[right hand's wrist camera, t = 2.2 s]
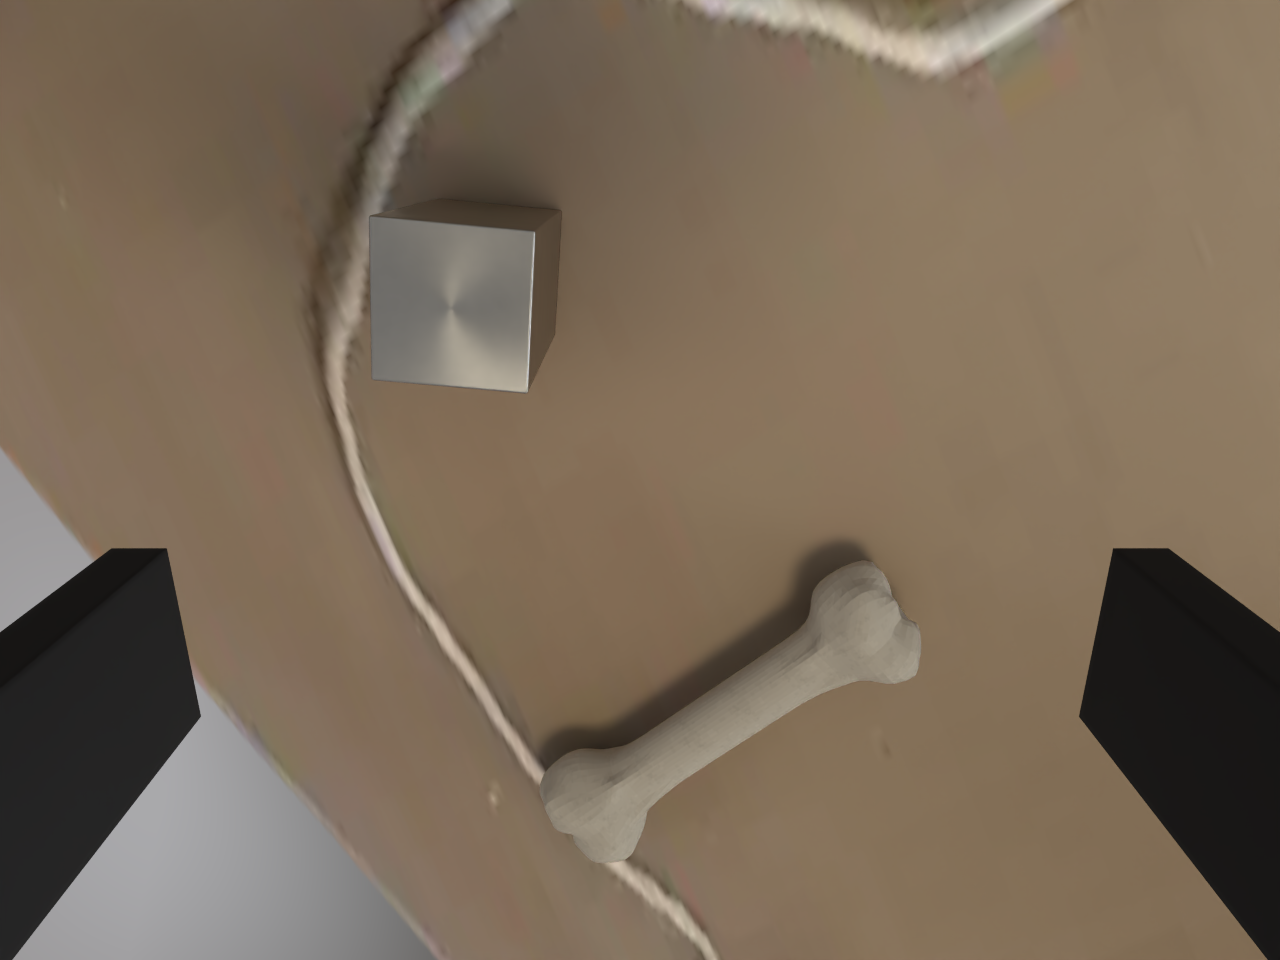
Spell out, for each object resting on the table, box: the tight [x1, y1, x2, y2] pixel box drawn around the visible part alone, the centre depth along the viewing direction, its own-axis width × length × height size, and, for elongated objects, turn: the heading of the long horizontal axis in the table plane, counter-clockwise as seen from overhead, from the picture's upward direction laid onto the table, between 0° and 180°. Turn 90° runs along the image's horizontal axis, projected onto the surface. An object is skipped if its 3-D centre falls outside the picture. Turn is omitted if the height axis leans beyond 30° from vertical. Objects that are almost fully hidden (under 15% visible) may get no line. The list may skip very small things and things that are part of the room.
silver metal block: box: [369, 199, 562, 393], centre depth 33 cm, size 5×5×10 cm
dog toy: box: [540, 560, 921, 863], centre depth 42 cm, size 20×6×5 cm, turn 129°
